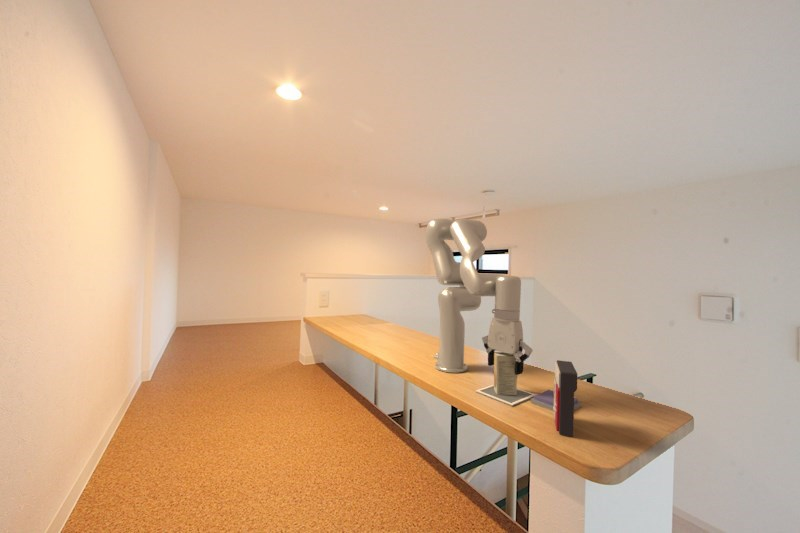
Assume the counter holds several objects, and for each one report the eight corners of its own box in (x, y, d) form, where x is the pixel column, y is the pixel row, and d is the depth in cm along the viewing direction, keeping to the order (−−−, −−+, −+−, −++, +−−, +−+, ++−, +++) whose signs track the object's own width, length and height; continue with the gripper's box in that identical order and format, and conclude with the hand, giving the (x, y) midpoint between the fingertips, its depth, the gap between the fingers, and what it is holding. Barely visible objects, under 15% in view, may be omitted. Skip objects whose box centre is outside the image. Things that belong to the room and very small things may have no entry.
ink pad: (530, 402, 95) (530, 395, 95) (547, 394, 101) (547, 388, 101) (565, 415, 87) (565, 407, 87) (581, 406, 93) (581, 399, 93)
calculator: (552, 415, 87) (553, 359, 87) (570, 418, 85) (571, 361, 85) (555, 434, 77) (557, 371, 77) (576, 438, 75) (577, 373, 75)
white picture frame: (475, 392, 102) (475, 390, 102) (500, 383, 110) (500, 382, 110) (512, 406, 92) (512, 404, 92) (536, 396, 100) (536, 394, 100)
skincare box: (513, 390, 103) (514, 352, 103) (517, 395, 99) (517, 355, 99) (492, 389, 104) (493, 351, 104) (495, 394, 100) (496, 354, 100)
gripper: (477, 311, 106) (474, 363, 106) (525, 320, 92) (523, 380, 93) (491, 310, 110) (489, 360, 111) (539, 318, 97) (537, 375, 97)
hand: (504, 369), depth 102 cm, fingers open, 9 cm apart
